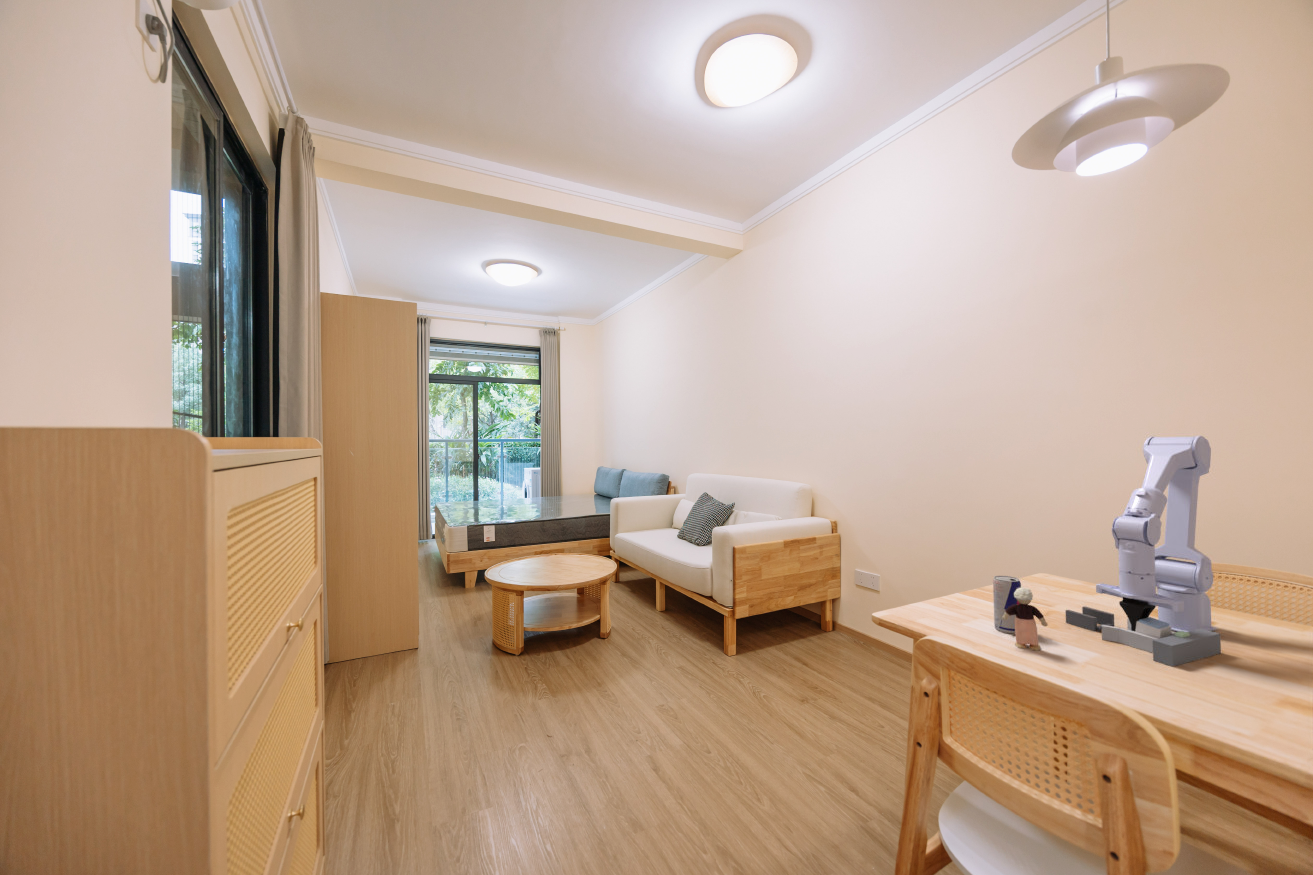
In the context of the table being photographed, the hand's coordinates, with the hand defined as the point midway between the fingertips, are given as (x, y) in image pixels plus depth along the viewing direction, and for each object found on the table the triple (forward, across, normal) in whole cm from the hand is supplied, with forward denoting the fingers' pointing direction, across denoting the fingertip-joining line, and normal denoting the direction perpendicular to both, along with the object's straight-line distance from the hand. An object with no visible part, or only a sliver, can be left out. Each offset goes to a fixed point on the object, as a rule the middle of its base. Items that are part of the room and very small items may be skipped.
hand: (1138, 635), depth 109 cm
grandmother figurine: (+2, -8, -24) cm, 25 cm away
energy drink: (+2, -16, -18) cm, 24 cm away
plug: (+2, +2, 0) cm, 3 cm away
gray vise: (+2, -11, +5) cm, 12 cm away
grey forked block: (+2, +2, 0) cm, 3 cm away
